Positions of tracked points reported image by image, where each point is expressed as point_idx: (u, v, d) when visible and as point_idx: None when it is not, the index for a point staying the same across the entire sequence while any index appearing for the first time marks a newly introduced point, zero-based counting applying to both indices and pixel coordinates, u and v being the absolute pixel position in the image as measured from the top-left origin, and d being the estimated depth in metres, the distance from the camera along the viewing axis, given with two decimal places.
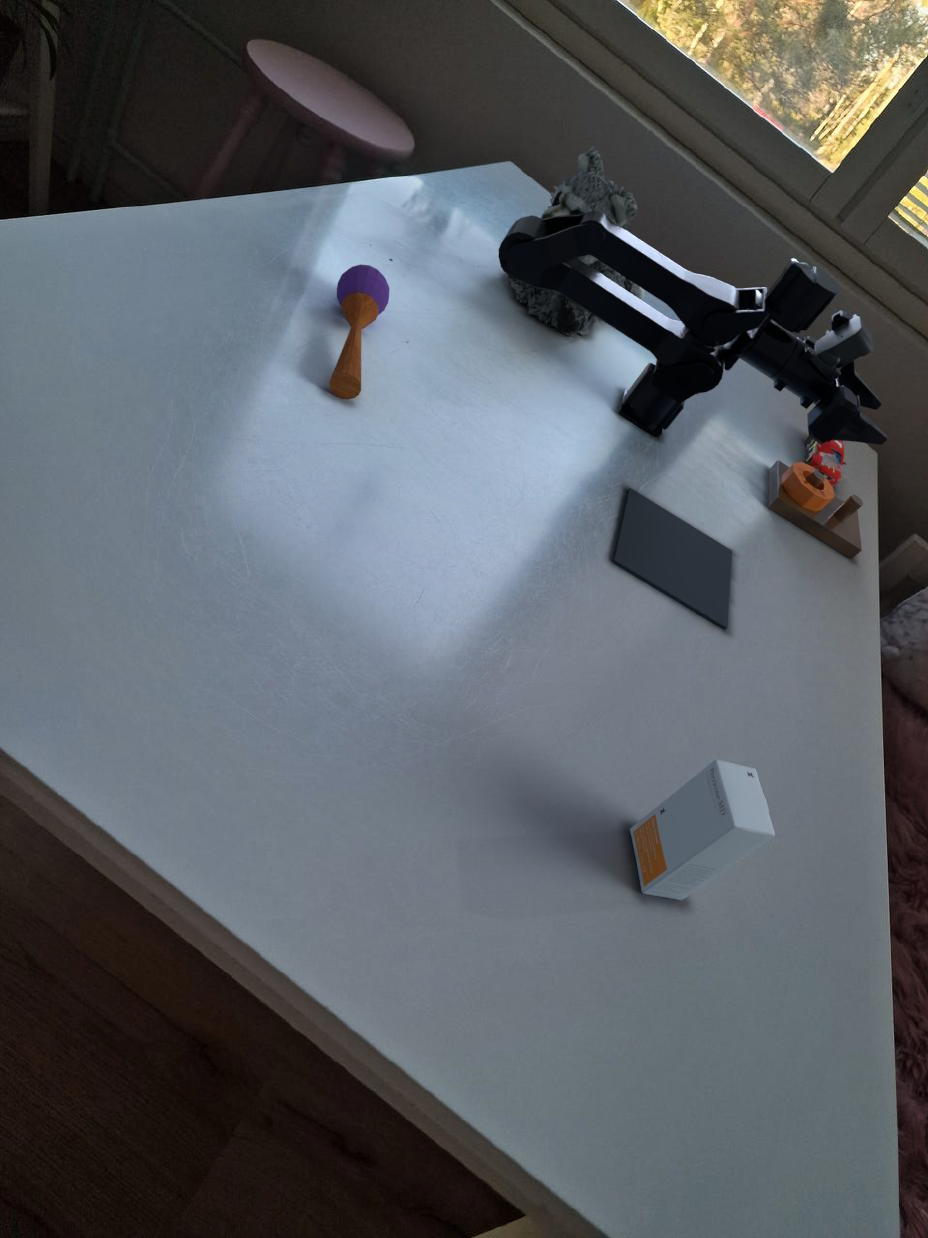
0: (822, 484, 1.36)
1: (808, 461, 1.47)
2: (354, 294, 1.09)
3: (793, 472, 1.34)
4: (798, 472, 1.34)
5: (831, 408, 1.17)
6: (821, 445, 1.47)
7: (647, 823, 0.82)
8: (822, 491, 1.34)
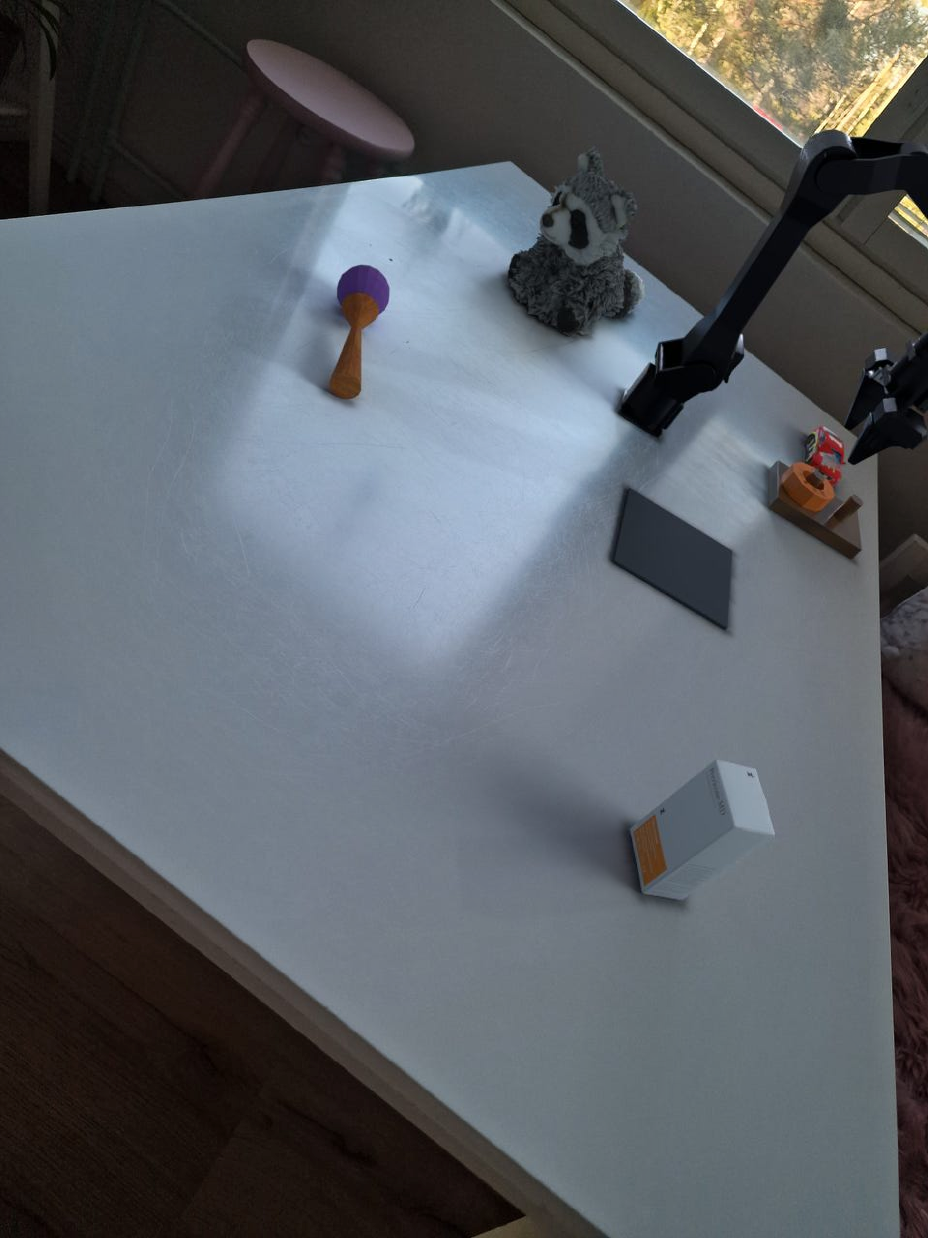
0: (822, 484, 1.36)
1: (808, 461, 1.47)
2: (354, 294, 1.09)
3: (793, 472, 1.34)
4: (798, 472, 1.34)
5: (919, 430, 1.18)
6: (821, 445, 1.47)
7: (647, 823, 0.82)
8: (822, 491, 1.34)
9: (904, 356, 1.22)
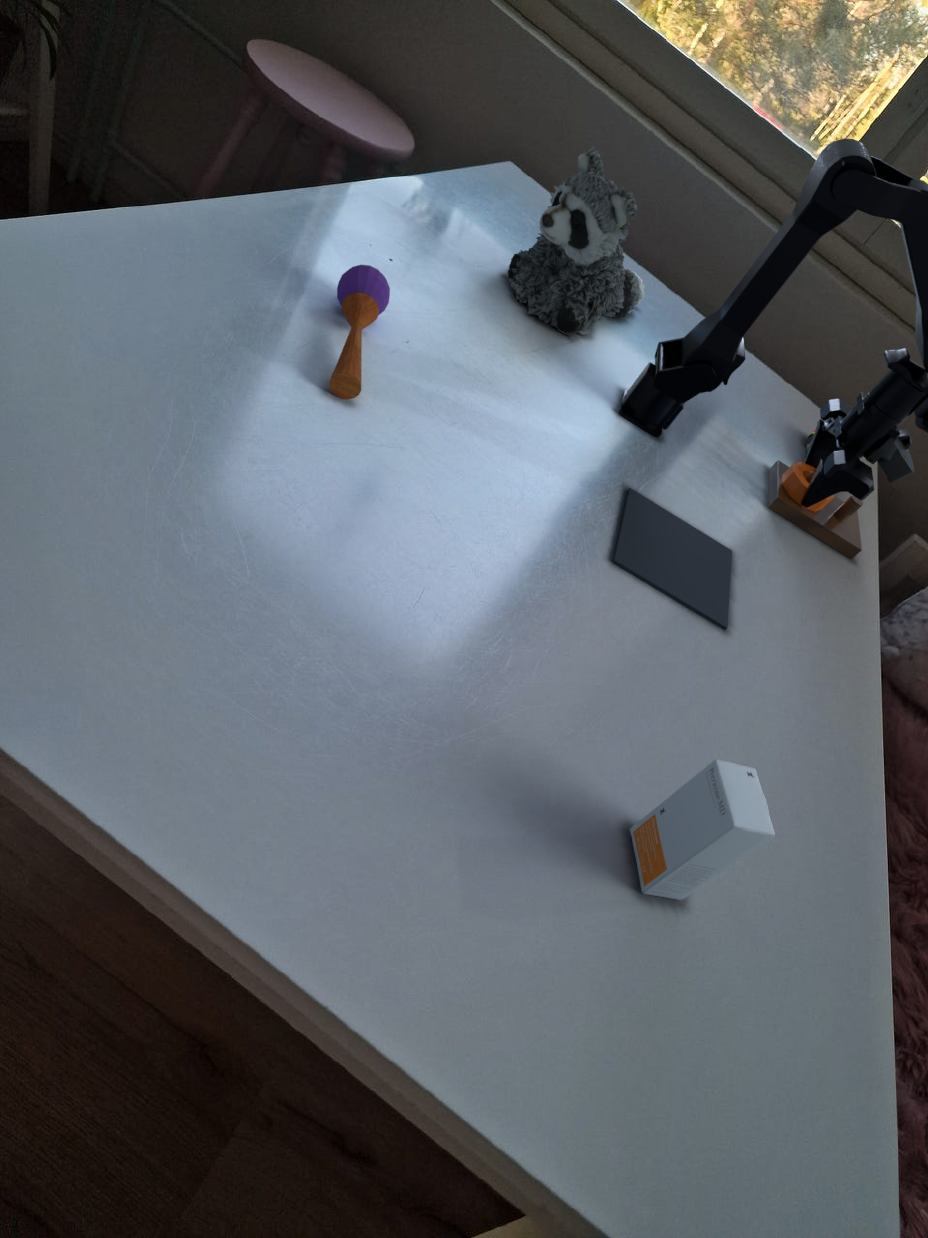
0: None
1: None
2: (354, 294, 1.09)
3: (793, 471, 1.34)
4: (798, 472, 1.34)
5: (866, 481, 1.23)
6: None
7: (647, 823, 0.82)
8: None
9: (854, 409, 1.27)
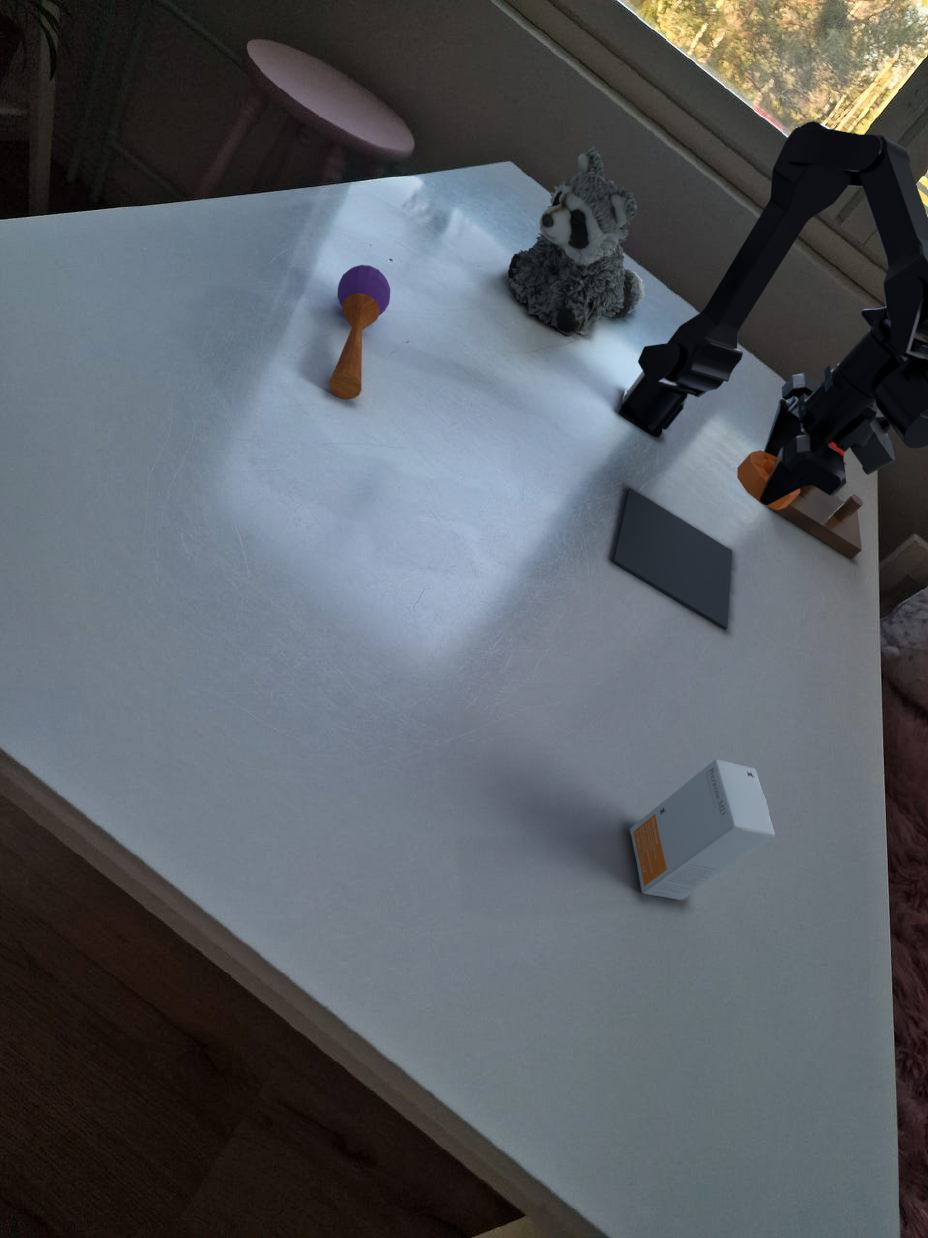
0: None
1: None
2: (355, 294, 1.09)
3: (751, 462, 1.11)
4: (756, 463, 1.11)
5: (836, 473, 1.01)
6: None
7: (647, 823, 0.82)
8: None
9: (821, 385, 1.05)
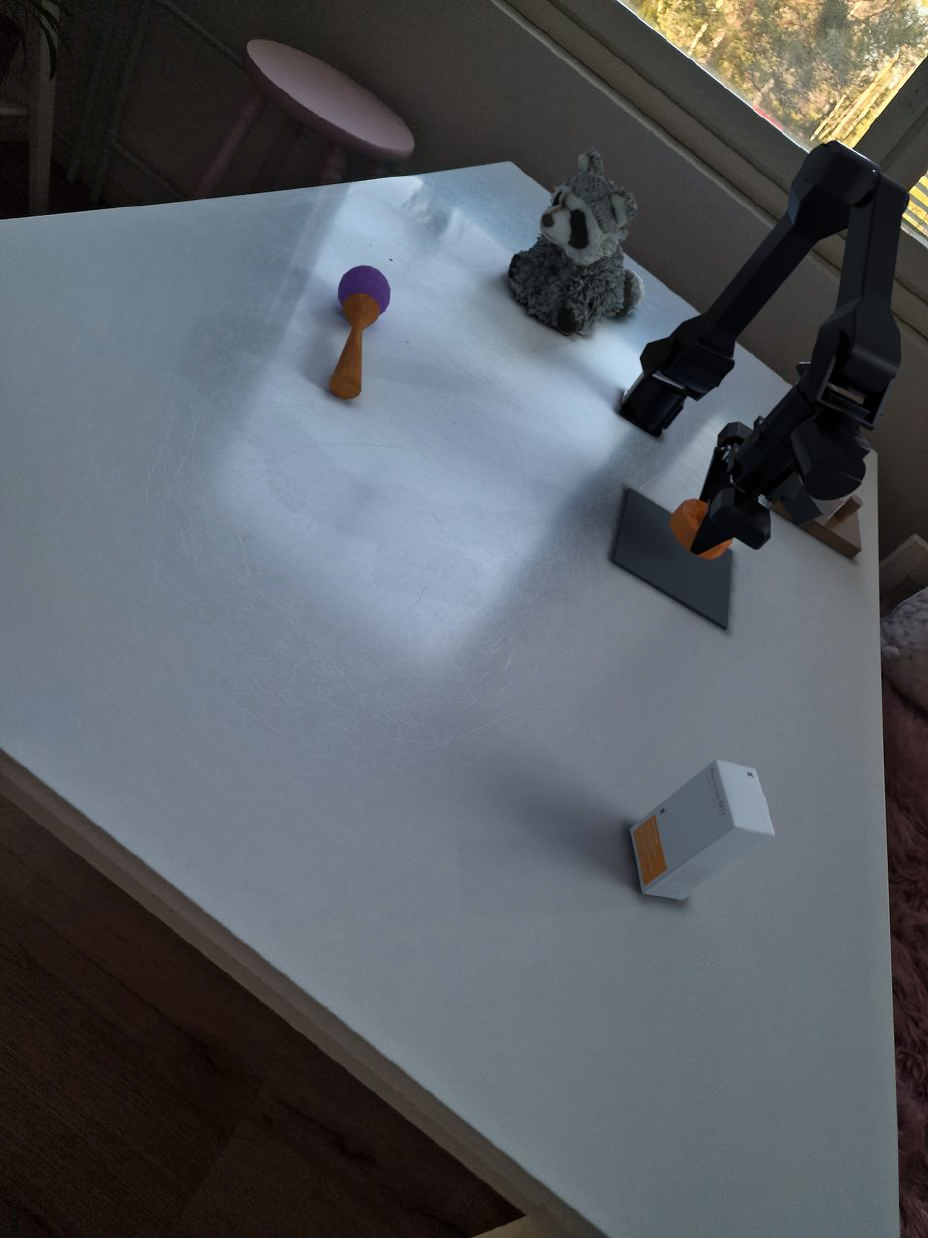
0: None
1: None
2: (355, 294, 1.09)
3: (682, 511, 1.10)
4: (688, 512, 1.10)
5: (760, 528, 0.99)
6: None
7: (647, 823, 0.82)
8: None
9: (749, 437, 1.03)
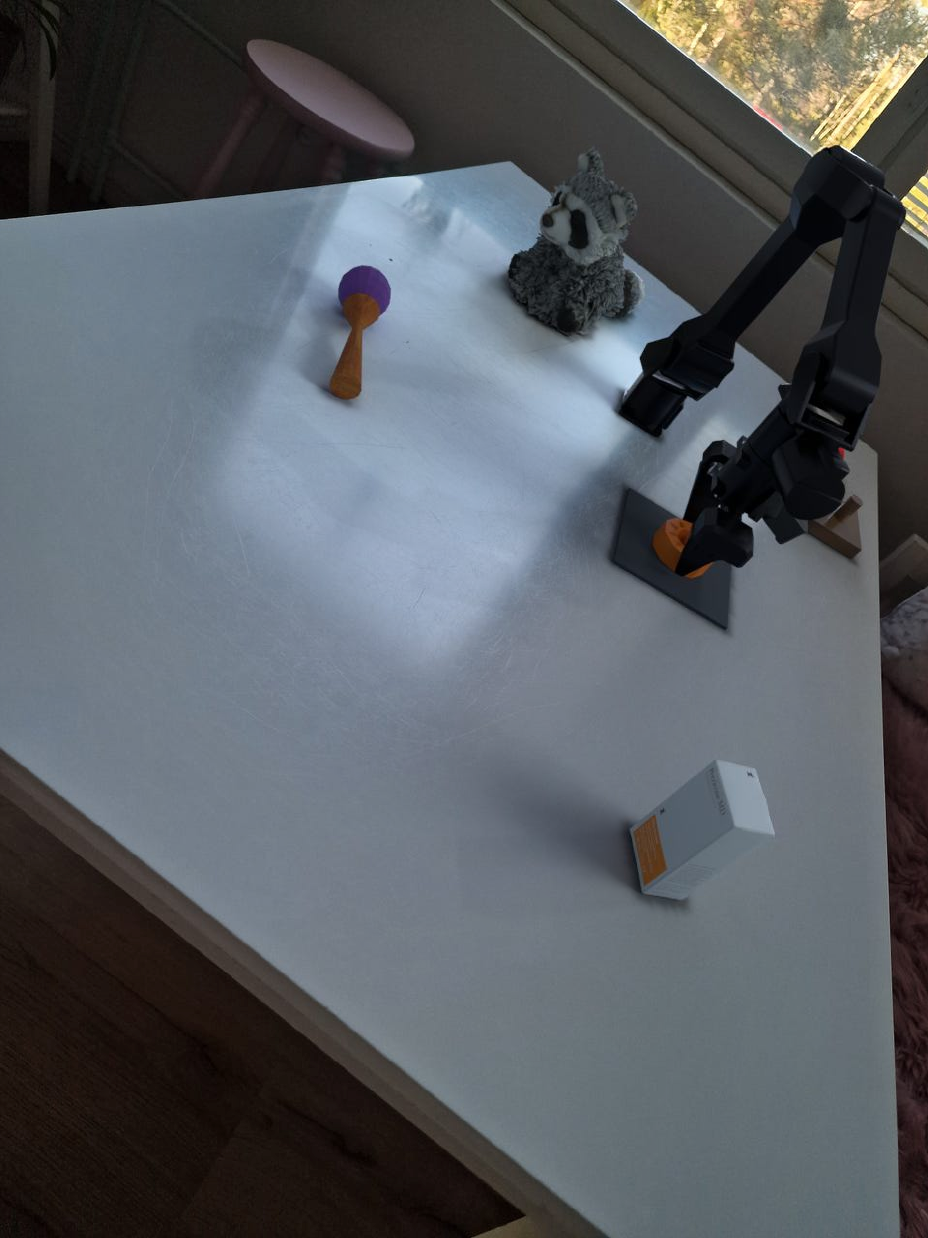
0: None
1: None
2: (355, 295, 1.09)
3: (665, 531, 1.12)
4: (671, 531, 1.12)
5: (742, 546, 1.01)
6: None
7: (647, 823, 0.82)
8: None
9: (733, 456, 1.05)
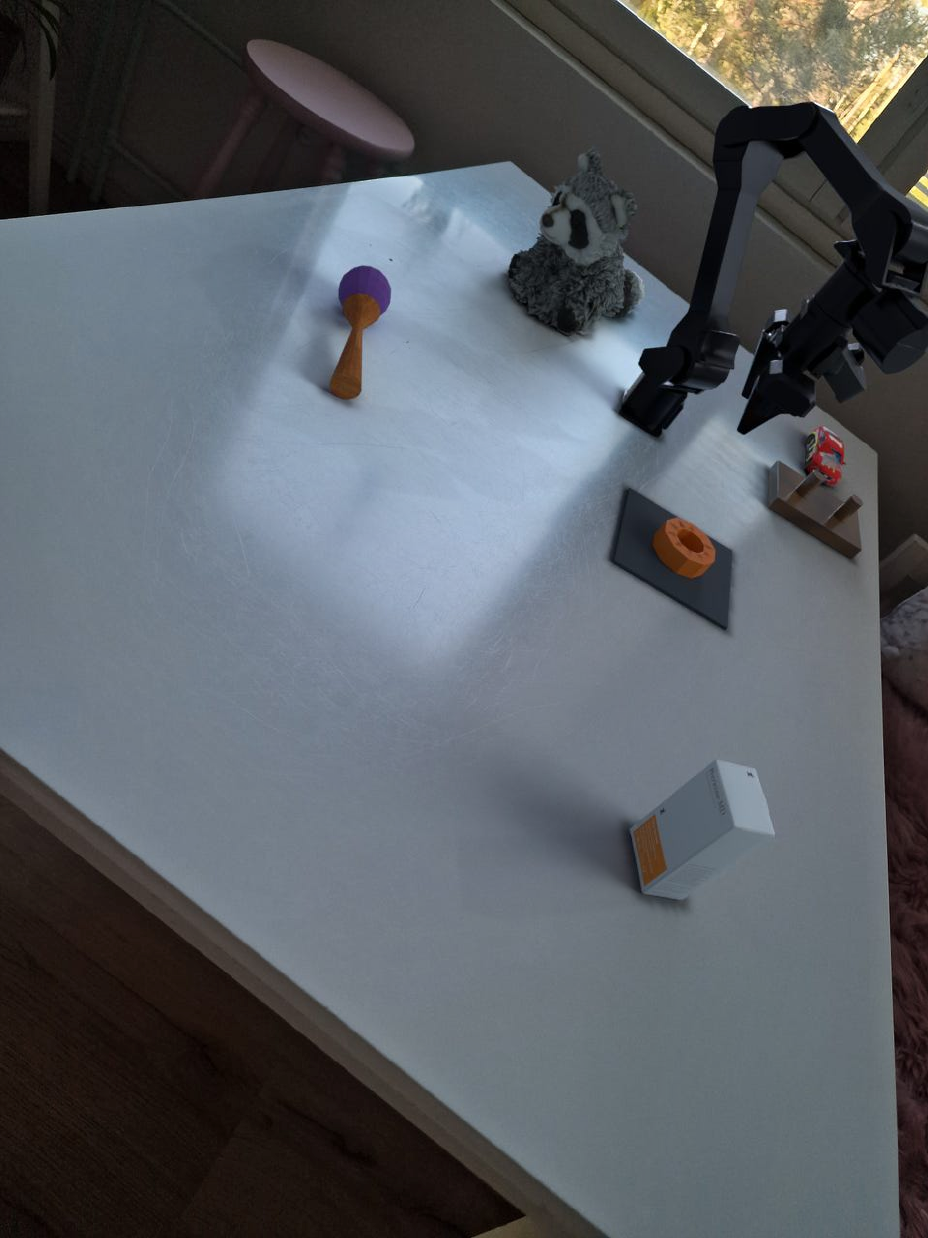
0: (701, 545, 1.14)
1: (808, 461, 1.47)
2: (356, 295, 1.09)
3: (665, 531, 1.12)
4: (671, 531, 1.12)
5: (806, 394, 1.06)
6: (821, 445, 1.47)
7: (647, 823, 0.82)
8: (700, 555, 1.12)
9: (797, 315, 1.10)
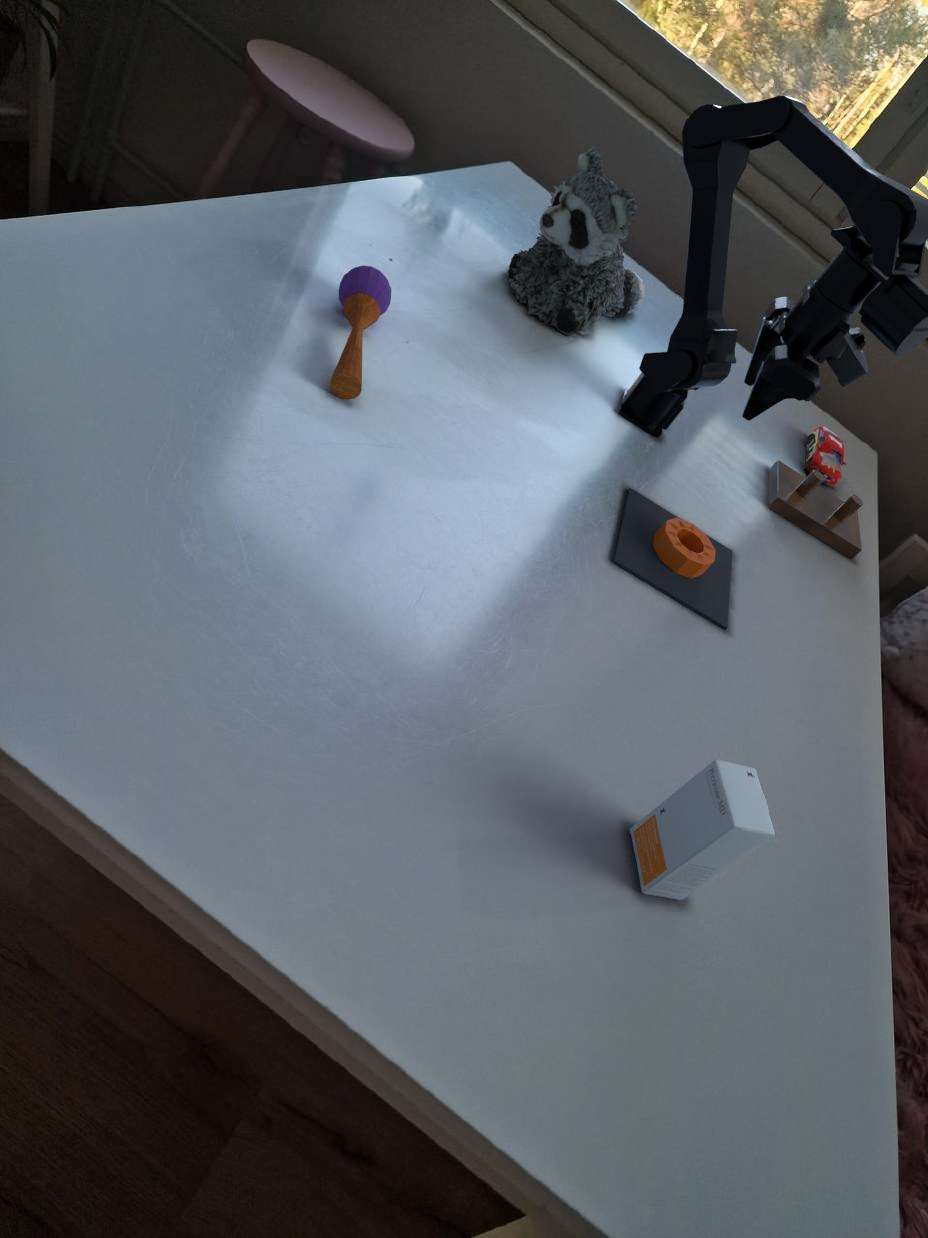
0: (701, 545, 1.14)
1: (808, 461, 1.47)
2: (356, 295, 1.09)
3: (665, 531, 1.12)
4: (671, 531, 1.12)
5: (811, 378, 1.09)
6: (821, 445, 1.47)
7: (647, 823, 0.82)
8: (700, 555, 1.12)
9: (799, 301, 1.13)
